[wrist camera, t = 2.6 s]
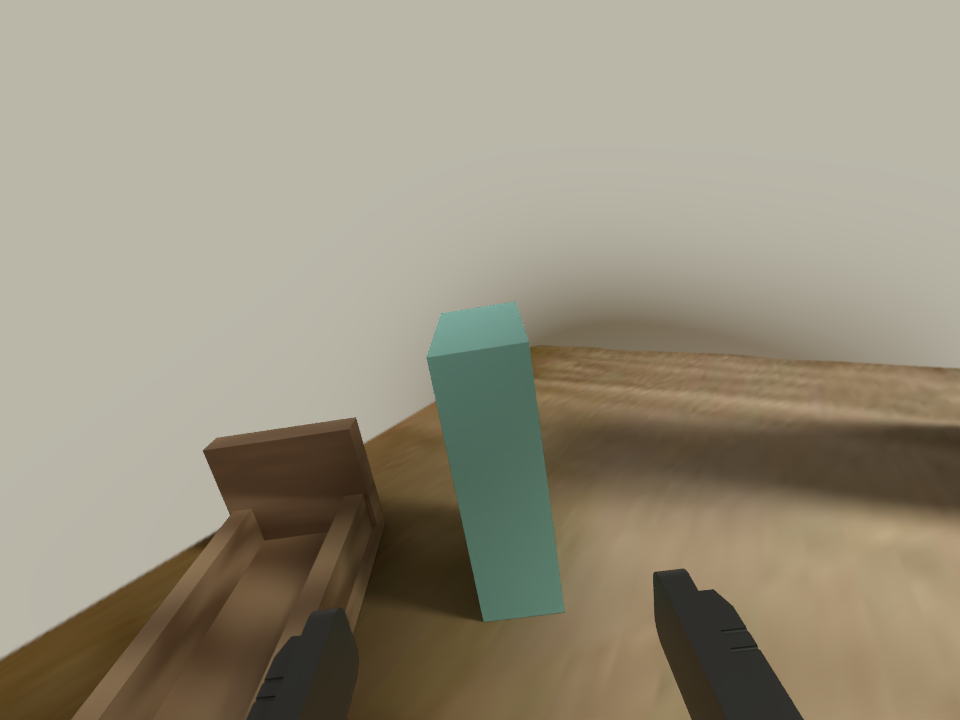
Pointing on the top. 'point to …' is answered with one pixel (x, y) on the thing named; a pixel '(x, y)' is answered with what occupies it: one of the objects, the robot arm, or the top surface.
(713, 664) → the robot arm
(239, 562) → the brown wooden drawer
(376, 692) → the top surface
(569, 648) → the top surface
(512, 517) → the teal rectangular block
